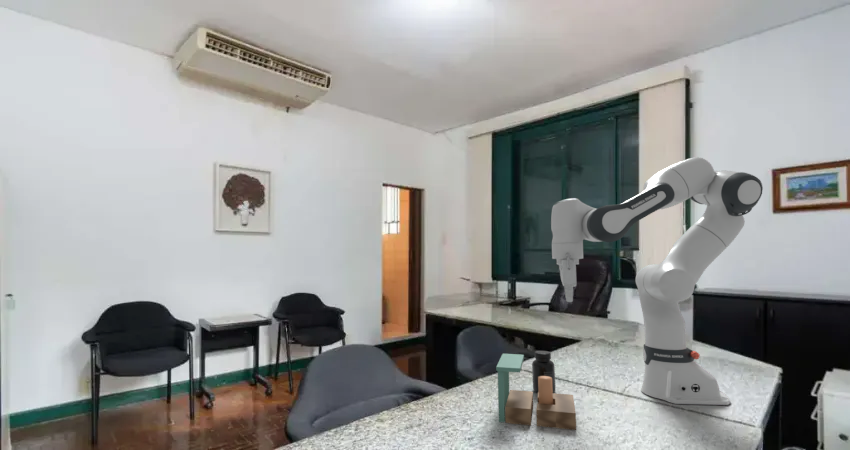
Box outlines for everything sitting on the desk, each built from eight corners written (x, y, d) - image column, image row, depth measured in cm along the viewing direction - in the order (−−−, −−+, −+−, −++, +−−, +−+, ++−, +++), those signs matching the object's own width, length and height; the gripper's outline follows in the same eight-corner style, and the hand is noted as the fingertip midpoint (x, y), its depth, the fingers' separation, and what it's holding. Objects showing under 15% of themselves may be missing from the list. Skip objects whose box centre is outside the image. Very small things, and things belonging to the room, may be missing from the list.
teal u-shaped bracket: (525, 404, 121) (523, 354, 122) (521, 425, 107) (520, 368, 108) (503, 402, 123) (502, 353, 124) (497, 422, 108) (496, 366, 109)
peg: (553, 414, 114) (552, 376, 114) (553, 419, 110) (552, 380, 111) (539, 413, 115) (538, 375, 115) (539, 418, 111) (537, 379, 112)
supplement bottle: (556, 389, 135) (554, 350, 135) (555, 395, 128) (553, 355, 129) (533, 387, 137) (532, 349, 138) (531, 393, 131) (530, 353, 131)
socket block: (573, 409, 117) (572, 394, 117) (576, 430, 104) (575, 413, 104) (510, 404, 122) (510, 389, 122) (505, 422, 108) (505, 406, 109)
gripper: (580, 253, 116) (582, 304, 115) (576, 252, 135) (578, 296, 134) (556, 253, 117) (558, 303, 116) (556, 253, 137) (557, 296, 136)
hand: (568, 300), depth 126 cm, fingers open, 8 cm apart
